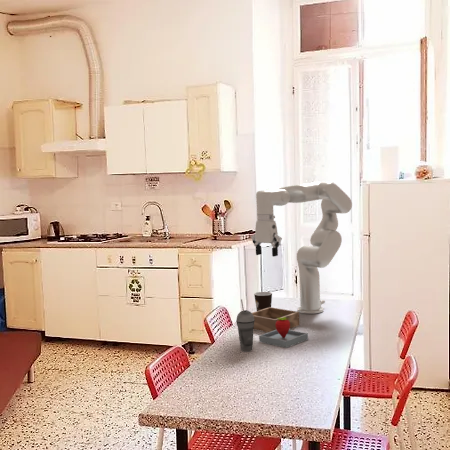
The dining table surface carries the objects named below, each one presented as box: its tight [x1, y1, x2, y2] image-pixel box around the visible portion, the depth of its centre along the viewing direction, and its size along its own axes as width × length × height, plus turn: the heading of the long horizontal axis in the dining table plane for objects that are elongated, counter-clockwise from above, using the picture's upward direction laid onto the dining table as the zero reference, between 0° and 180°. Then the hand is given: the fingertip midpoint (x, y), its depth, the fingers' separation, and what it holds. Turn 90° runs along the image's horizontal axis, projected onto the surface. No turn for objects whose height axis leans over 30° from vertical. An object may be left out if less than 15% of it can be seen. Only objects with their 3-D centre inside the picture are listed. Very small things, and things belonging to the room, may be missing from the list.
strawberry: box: [275, 317, 291, 338], centre depth 241 cm, size 6×8×10 cm
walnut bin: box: [251, 306, 301, 333], centre depth 263 cm, size 17×17×6 cm
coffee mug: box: [253, 291, 273, 311], centre depth 287 cm, size 12×9×10 cm
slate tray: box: [258, 329, 309, 349], centre depth 241 cm, size 14×14×2 cm
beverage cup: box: [235, 298, 255, 353], centre depth 230 cm, size 7×7×20 cm
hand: (266, 255), depth 271 cm, fingers open, 9 cm apart
